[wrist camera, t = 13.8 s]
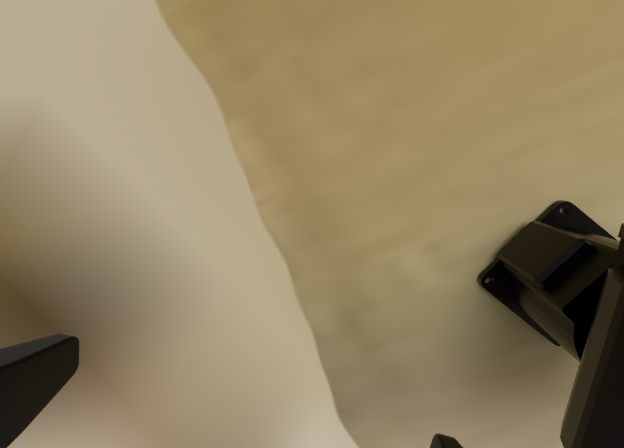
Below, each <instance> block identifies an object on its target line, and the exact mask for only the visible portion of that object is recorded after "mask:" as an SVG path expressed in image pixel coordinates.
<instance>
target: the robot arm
mask: <svg viewBox="0 0 624 448" xmlns="http://www.w3.org/2000/svg"><path fill="white" fill-rule="evenodd" d="M563 206H564V207H565V211H564V212H563V213H560V208H561V207H563ZM618 237H620V238H621V240H620V242H619V241H617V240H616V239H615V238H614V237H613V236H611V235H610V234H609V233H608V232H606V231H605V230H604V229H603V228H602V227H600V226H599V225H598V224H597V223H595V222H594V221H593V220H592V219H591V218H589V217H588V216H587V215H586V214H585V213H583V212H582V211H581V210H580V209H578V208H577V207H576V206H575V205H574V204H572V203H571V202H568V201H562V200H560V201H556V202H555V203H553V204H552V205H551V206H550V207H549V208H548V209H547V210H546V211H545V212H544V213H543V214H542V215H541V216H540V217H539V218H538V219H537V220H536V221H534V222H530V223H529V224H528V225H527V226H526V227H525V228H524V229H523V230H522V231H521V232H520V233H519V234H518V235H517V236H516V237H515V238H513V239H512V240H511V241H510V242H509V243H508V244H507V245H506V246H505V247H504V248H503V249H502V250H501V251H500V252H499V257H497V258H496V259H495V260H494V261H493V262H492V263H491V264H490V265H489V266H488V267H487V268H486V269H485V270H484V271H483V272H482V273H481V274H480V275H479V277H478V281H479V283H480V284H481V286H482V287H483V288H485V289H486V290H487V291H488V292H490V293H491V294H492V295H493V296H495V297H496V298H497V299H498V300H500V301H501V302H502V303H503V304H505V305H506V306H507V307H508V308H510V309H511V310H512V311H513V312H514V313H516V314H517V315H518V316H519V317H521V318H522V319H523V320H524V321H526V322H527V323H528V324H529V325H531V326H532V327H533V328H534V329H536V330H537V331H538V332H539V333H541V334H542V335H543V336H544V337H546V338H547V339H548V340H549V341H551V342H552V343H553V344H555V345H556V346H562V347H563V348H564V349H566V350H567V351H568V352H569V353H570V354H571V355H572V356H573V357H574V358H575V359H576V360H578V361H579V362H580V365H579V368H578V371H577V375H576V378H575V382H574V385H573V388H572V392H571V395H570V398H569V402H568V405H567V408H566V412H565V415H564V419H563V422H562V428H561V434H560V438H561V441H562V443H563V446H564V448H624V223H622V225H621V228H620V231H619V235H618ZM490 277H491V281H490V282H489V283H485V280H486V279H487V278H490ZM78 365H79V339H78V338H77V337H76V336H73V335H69V334H65V333H58V334H54V335H51V336H47V337H43V338H39V339H35V340H32V341H28V342H24V343H20V344H16V345H13V346H9V347H5V348H1V349H0V448H7V447H8V446H9V445H10V444H11V443H12V442H13V441H14V440H15V439H16V438H17V437H18V436H19V435H20V434H21V433H22V432H23V431H24V430H25V429H26V428H27V426H28V425H29V424H30V423H31V422H32V421H33V420H34V419H35V418H36V417H37V415H38V414H39V413H40V412H41V411H42V410H43V408H44V407H45V406H46V405H47V404H48V403H49V402H50V401H51V400H52V399H53V397H54V396H55V395H56V394H57V393H58V392H59V391H60V390H61V388H62V387H63V386H64V385H65V384H66V383H67V382H68V381H69V380H70V378H71V377H72V376H73V375H74V374H75V372H76V370H77V368H78ZM430 448H463V447H462V446H461V445H460V444H459V442H458V441H457V440H456V439H455V438H453V437H450V436H446V435H443V434H435V436H434V437H433V440H432V443H431V446H430Z"/></svg>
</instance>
